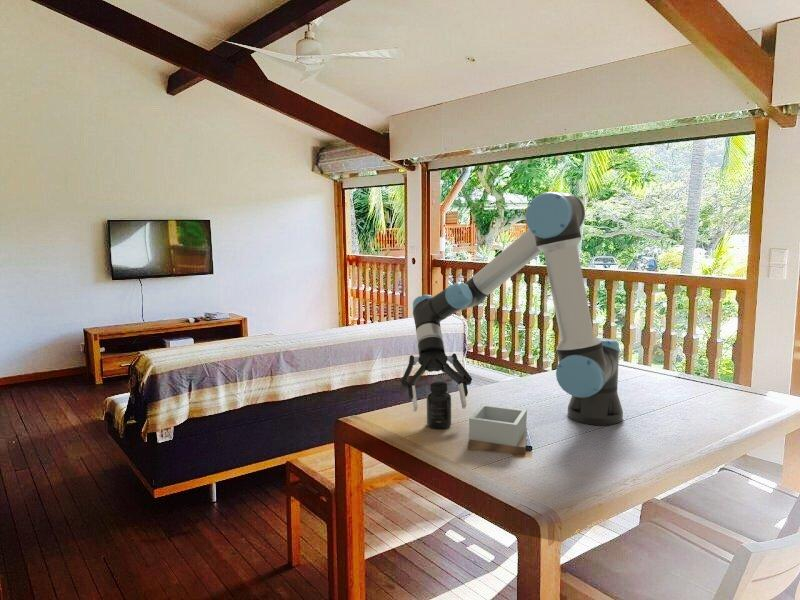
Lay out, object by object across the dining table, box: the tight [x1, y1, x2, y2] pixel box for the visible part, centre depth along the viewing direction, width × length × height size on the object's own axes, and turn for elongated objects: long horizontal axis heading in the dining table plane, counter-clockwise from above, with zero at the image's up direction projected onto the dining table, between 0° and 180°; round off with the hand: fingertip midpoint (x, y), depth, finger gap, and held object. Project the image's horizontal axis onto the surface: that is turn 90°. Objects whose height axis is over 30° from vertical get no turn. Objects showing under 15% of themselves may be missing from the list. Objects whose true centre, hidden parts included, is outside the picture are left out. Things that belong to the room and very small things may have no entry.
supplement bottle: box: [426, 381, 452, 430], centre depth 165 cm, size 7×7×12 cm
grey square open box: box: [468, 404, 527, 446], centre depth 153 cm, size 12×12×6 cm
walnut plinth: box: [467, 426, 528, 455], centre depth 154 cm, size 14×14×2 cm
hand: (440, 407), depth 163 cm, fingers open, 13 cm apart
